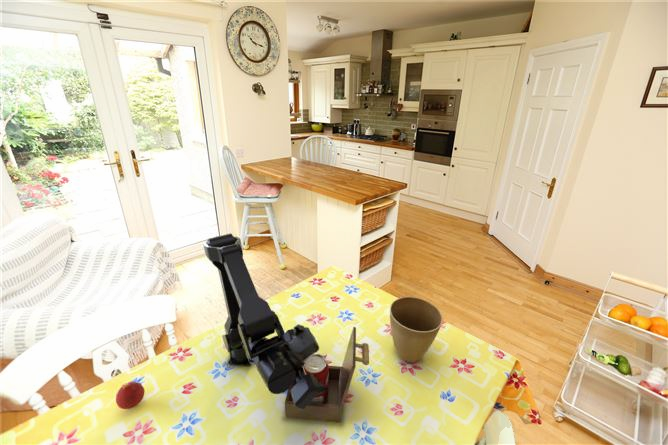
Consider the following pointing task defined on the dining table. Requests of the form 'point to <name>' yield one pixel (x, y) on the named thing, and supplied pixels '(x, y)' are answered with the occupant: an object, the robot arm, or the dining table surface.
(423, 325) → the plant pot
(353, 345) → the chest lid
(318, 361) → the soda can
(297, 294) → the dining table surface
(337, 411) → the chest
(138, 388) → the onion
